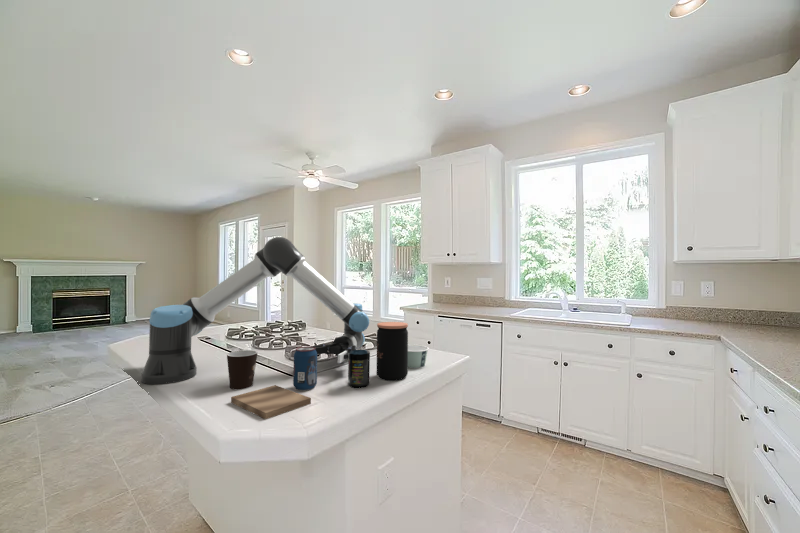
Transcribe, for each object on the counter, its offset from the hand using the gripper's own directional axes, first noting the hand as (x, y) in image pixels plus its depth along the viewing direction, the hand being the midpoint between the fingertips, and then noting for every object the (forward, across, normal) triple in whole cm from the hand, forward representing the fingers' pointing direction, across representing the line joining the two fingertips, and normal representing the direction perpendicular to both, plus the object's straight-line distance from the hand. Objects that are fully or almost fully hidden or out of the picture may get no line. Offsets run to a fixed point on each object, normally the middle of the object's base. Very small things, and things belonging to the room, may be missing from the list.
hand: (319, 357), depth 113 cm
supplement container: (+3, -15, -7) cm, 17 cm away
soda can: (+9, 0, -7) cm, 12 cm away
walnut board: (+23, +3, -7) cm, 24 cm away
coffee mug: (+11, +20, -7) cm, 24 cm away
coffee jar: (-9, -23, -7) cm, 25 cm away
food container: (-27, -27, -7) cm, 38 cm away
